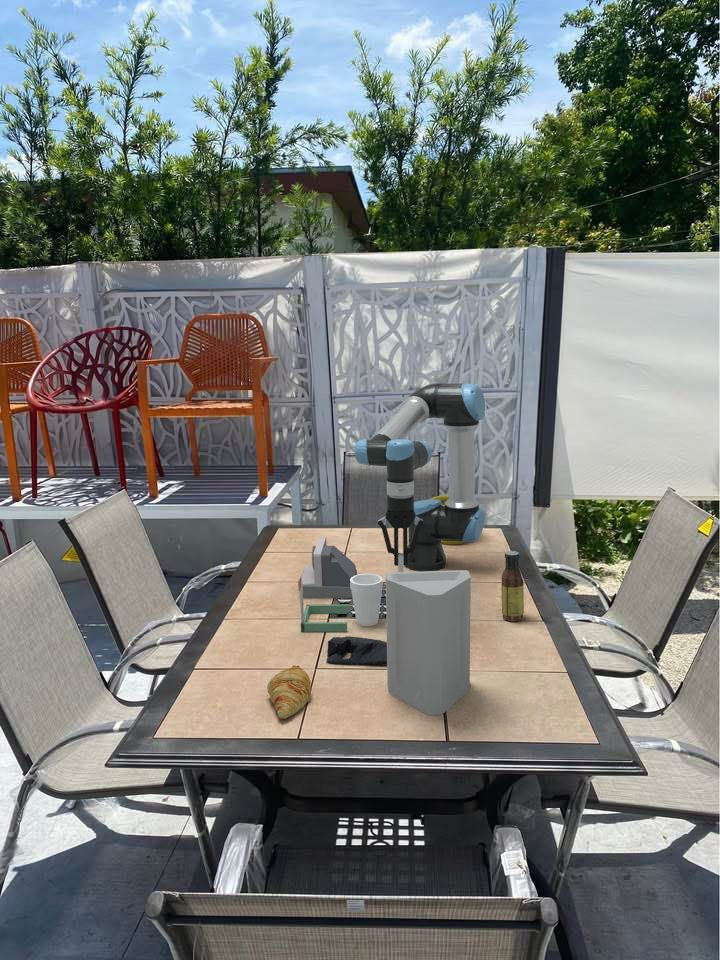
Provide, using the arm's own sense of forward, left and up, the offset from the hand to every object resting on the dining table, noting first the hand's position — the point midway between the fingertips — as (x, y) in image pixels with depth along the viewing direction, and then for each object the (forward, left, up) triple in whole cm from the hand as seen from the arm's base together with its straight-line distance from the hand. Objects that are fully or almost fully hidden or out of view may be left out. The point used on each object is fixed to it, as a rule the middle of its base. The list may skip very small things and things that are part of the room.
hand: (400, 576), depth 201 cm
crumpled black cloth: (+8, +20, -15) cm, 26 cm away
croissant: (+27, +43, -14) cm, 52 cm away
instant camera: (+23, -28, -14) cm, 39 cm away
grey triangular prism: (-6, +43, -14) cm, 45 cm away
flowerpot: (-21, -79, -14) cm, 83 cm away
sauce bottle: (-32, -2, -14) cm, 35 cm away
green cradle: (+22, +1, -14) cm, 26 cm away
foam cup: (+10, 0, -14) cm, 17 cm away
